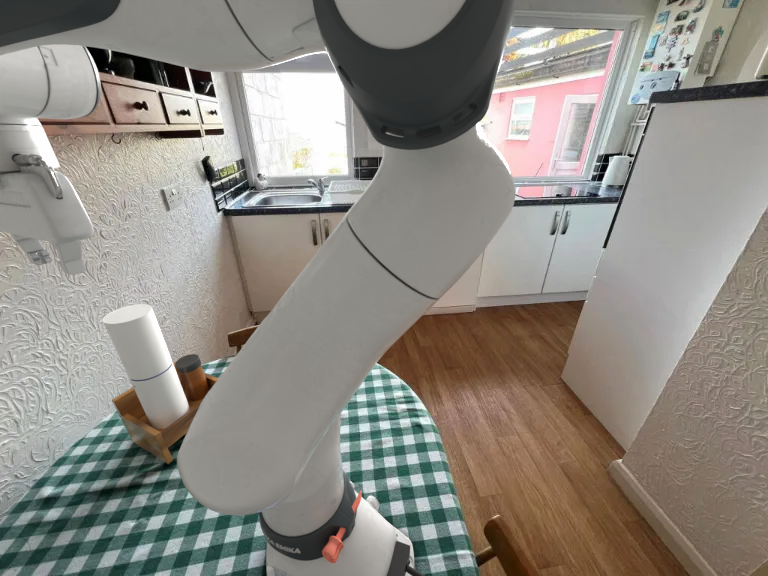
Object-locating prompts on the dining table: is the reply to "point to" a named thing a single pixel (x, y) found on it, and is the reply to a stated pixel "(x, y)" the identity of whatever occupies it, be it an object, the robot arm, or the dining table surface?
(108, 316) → the cylindrical container
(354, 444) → the dining table surface
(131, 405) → the spice rack
